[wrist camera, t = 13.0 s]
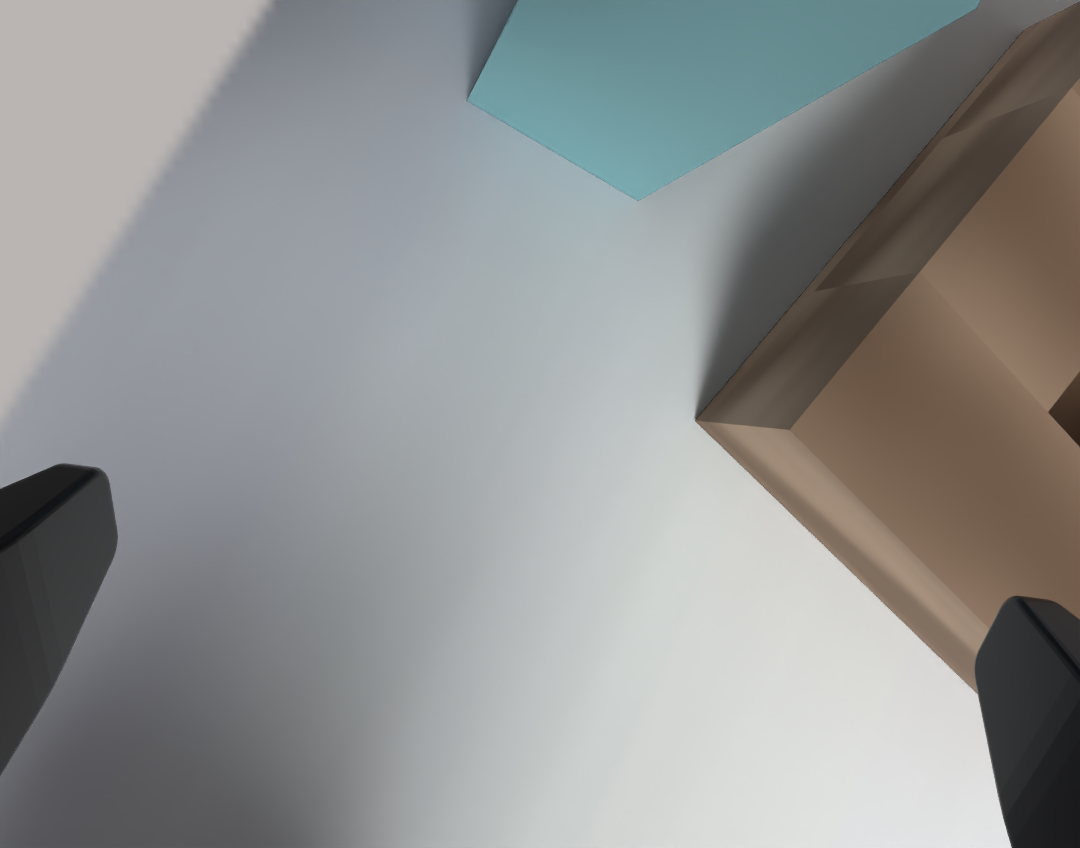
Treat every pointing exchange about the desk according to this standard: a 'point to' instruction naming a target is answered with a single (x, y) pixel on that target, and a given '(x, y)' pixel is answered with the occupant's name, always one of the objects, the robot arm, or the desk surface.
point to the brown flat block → (942, 367)
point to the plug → (682, 73)
